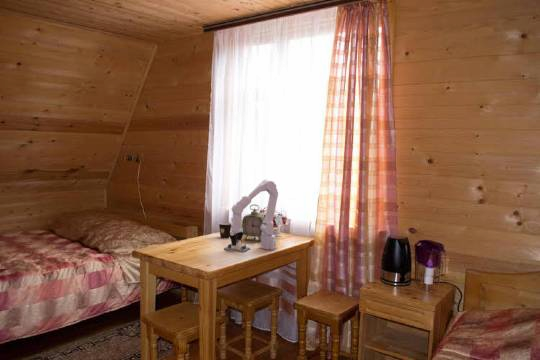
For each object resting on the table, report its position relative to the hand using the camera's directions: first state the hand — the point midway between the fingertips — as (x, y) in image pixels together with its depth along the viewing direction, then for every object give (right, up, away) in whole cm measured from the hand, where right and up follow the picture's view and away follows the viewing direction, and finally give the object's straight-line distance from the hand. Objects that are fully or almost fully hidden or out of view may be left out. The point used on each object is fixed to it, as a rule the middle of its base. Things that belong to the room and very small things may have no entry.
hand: (236, 244), depth 286 cm
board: (0, -3, 0) cm, 3 cm away
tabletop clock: (+10, -1, +28) cm, 30 cm away
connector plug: (0, -2, 0) cm, 2 cm away
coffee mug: (-10, 0, +33) cm, 34 cm away
